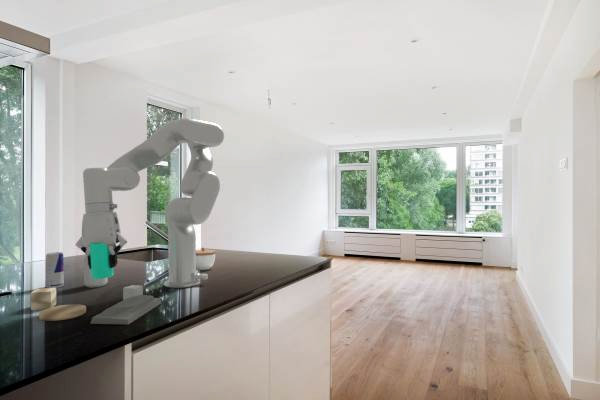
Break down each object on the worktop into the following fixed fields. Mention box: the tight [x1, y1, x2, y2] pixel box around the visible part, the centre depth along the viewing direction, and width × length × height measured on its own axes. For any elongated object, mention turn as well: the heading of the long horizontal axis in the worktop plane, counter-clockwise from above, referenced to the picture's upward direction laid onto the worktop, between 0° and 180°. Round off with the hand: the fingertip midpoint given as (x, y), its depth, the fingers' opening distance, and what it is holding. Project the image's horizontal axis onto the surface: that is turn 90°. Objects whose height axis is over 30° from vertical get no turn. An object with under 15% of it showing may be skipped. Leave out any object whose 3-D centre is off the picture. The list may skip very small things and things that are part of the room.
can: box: [83, 255, 109, 288], centre depth 140 cm, size 8×8×12 cm
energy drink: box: [45, 251, 65, 289], centre depth 139 cm, size 5×5×12 cm
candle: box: [90, 243, 114, 279], centre depth 118 cm, size 6×6×12 cm
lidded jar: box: [196, 247, 216, 271], centre depth 172 cm, size 11×11×9 cm
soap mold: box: [90, 294, 162, 325], centre depth 107 cm, size 10×20×4 cm, turn 175°
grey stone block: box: [122, 284, 144, 301], centre depth 121 cm, size 4×4×4 cm
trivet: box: [38, 304, 87, 322], centre depth 106 cm, size 11×11×1 cm
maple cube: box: [30, 287, 57, 311], centre depth 113 cm, size 5×5×5 cm
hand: (103, 266), depth 119 cm, fingers closed on candle, 5 cm apart
